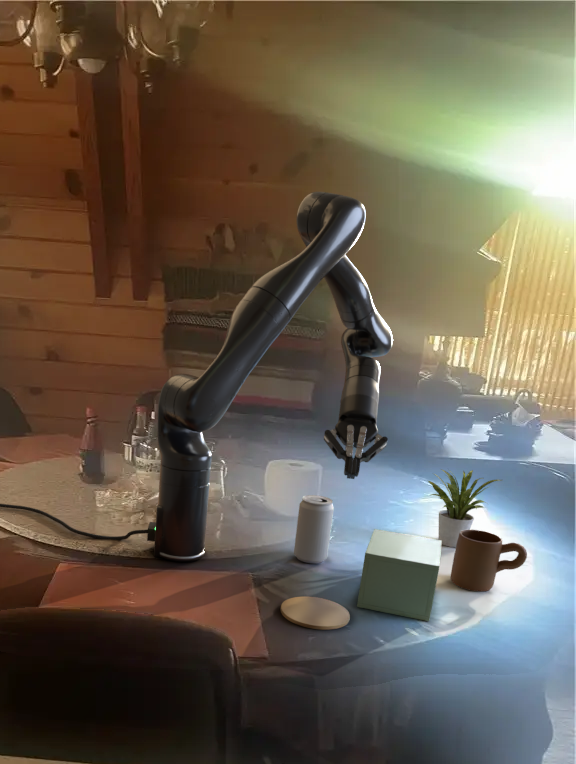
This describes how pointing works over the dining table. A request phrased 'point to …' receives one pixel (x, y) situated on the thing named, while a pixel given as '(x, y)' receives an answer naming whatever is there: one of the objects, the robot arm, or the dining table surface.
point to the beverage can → (313, 529)
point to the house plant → (457, 507)
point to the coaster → (315, 613)
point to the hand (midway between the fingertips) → (351, 476)
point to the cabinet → (400, 574)
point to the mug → (482, 559)
